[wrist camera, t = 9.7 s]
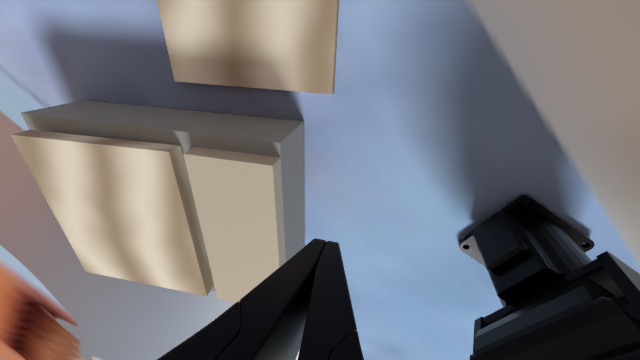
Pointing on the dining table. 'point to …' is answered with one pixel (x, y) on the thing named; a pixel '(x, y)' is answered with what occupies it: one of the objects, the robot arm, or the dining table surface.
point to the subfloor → (216, 178)
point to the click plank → (122, 206)
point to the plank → (253, 43)
